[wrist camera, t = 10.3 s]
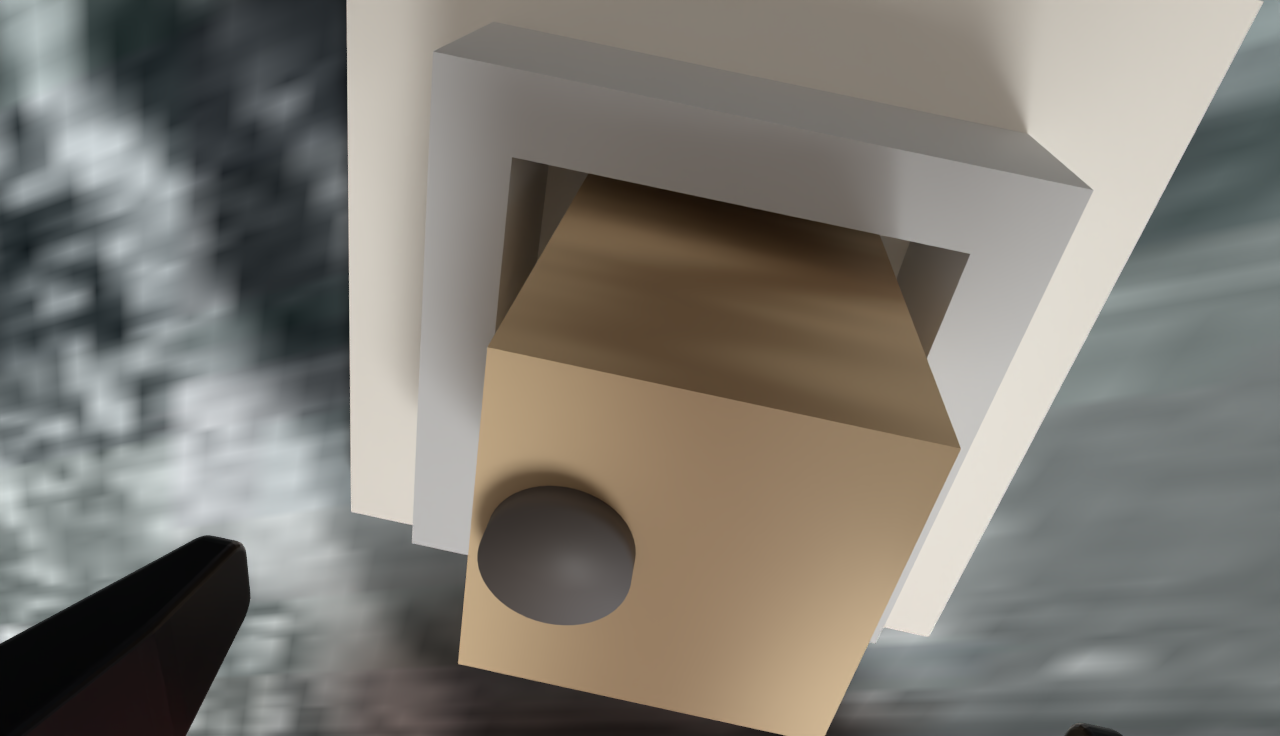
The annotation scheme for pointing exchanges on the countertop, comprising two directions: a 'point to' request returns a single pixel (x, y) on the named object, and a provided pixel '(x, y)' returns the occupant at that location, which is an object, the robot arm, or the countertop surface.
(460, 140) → the socket plate
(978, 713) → the countertop surface
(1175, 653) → the countertop surface
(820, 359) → the tan block
